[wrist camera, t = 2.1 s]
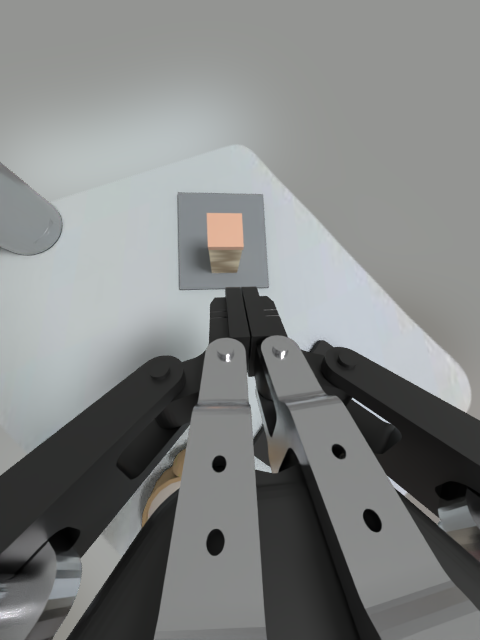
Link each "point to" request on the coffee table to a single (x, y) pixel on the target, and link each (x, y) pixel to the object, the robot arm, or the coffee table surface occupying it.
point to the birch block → (225, 241)
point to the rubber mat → (195, 241)
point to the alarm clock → (165, 486)
